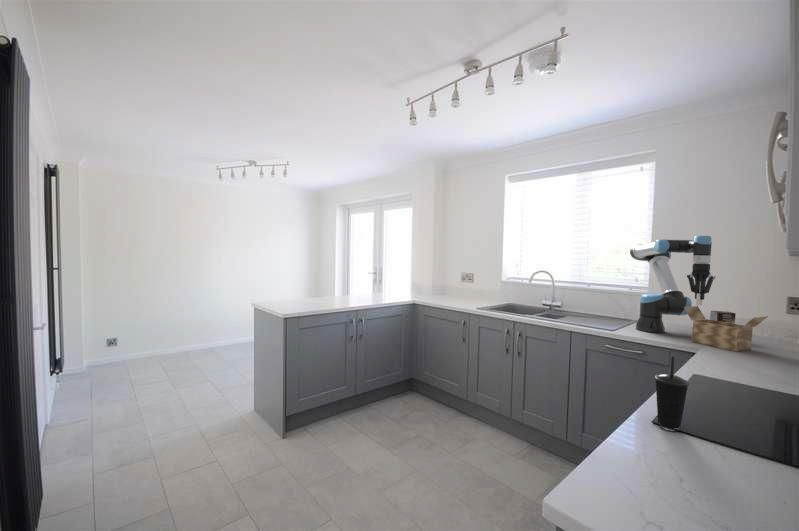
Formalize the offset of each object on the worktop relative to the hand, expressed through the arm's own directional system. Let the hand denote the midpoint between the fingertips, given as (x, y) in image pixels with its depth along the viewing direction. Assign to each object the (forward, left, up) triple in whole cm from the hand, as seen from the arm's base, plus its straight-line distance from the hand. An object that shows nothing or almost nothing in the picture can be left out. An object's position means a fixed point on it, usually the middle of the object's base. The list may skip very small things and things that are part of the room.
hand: (699, 305), depth 199 cm
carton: (+11, 0, -20) cm, 23 cm away
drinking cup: (+56, -126, -21) cm, 140 cm away
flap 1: (-2, 0, -5) cm, 5 cm away
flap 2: (+24, 0, -5) cm, 24 cm away
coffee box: (+3, +18, -21) cm, 28 cm away
